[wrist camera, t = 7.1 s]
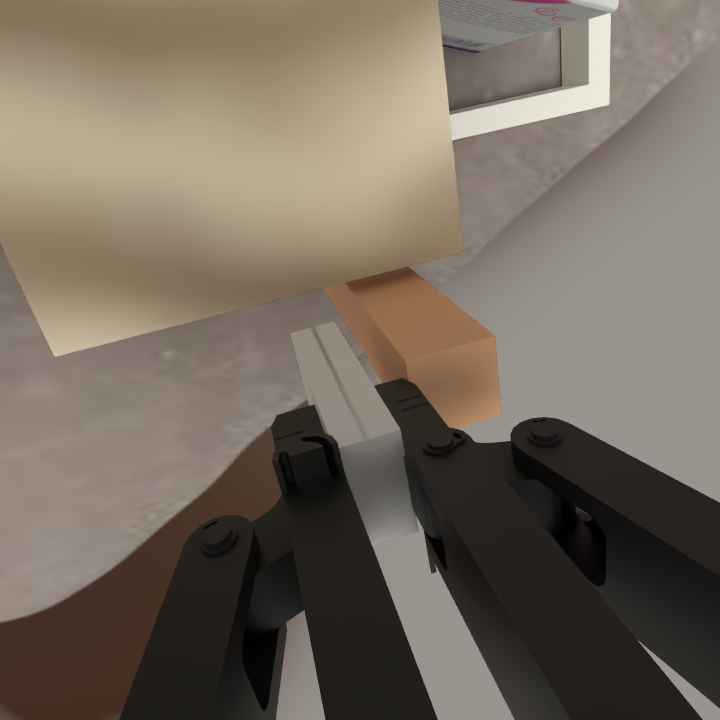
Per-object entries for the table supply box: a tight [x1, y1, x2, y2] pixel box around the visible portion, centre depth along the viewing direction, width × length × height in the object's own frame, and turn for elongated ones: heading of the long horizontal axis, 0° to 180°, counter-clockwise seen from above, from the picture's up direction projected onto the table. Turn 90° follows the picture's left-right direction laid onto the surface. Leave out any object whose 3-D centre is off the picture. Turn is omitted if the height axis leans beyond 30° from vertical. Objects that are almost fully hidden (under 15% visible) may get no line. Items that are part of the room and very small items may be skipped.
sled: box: [324, 13, 611, 429], centre depth 20 cm, size 18×17×19 cm
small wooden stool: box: [0, 0, 464, 357], centre depth 20 cm, size 17×14×14 cm
